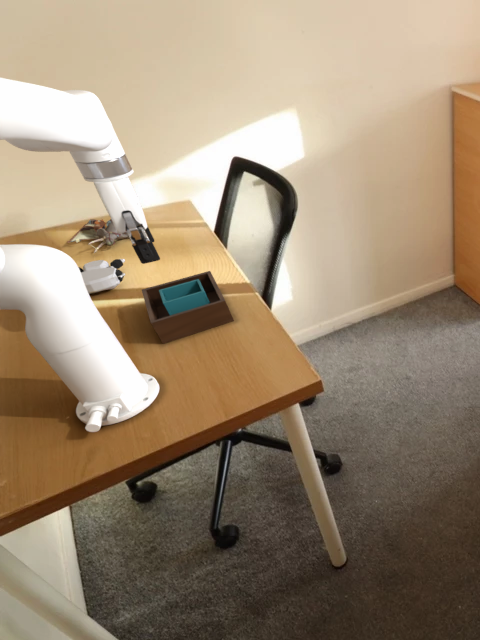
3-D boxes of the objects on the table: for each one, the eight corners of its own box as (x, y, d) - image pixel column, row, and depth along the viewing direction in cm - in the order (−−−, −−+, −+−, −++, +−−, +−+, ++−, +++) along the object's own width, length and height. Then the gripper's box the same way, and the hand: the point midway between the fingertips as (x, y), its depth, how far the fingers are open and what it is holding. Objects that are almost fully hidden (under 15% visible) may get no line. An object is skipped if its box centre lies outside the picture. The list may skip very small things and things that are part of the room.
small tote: (208, 300, 112) (198, 278, 108) (214, 313, 108) (204, 291, 104) (170, 311, 108) (158, 289, 104) (175, 325, 104) (163, 303, 100)
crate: (234, 320, 107) (225, 300, 103) (163, 344, 100) (150, 323, 96) (218, 290, 116) (210, 270, 113) (152, 309, 110) (141, 289, 106)
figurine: (122, 234, 127) (49, 242, 123) (134, 253, 131) (63, 262, 127) (141, 201, 141) (75, 207, 137) (151, 219, 145) (88, 226, 141)
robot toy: (76, 279, 120) (66, 305, 110) (65, 263, 118) (55, 288, 107) (132, 267, 125) (129, 291, 115) (124, 252, 123) (119, 274, 112)
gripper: (79, 158, 89) (123, 241, 100) (80, 185, 78) (130, 274, 89) (126, 152, 93) (164, 232, 103) (134, 176, 82) (175, 263, 92)
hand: (148, 252), depth 96 cm, fingers open, 9 cm apart
